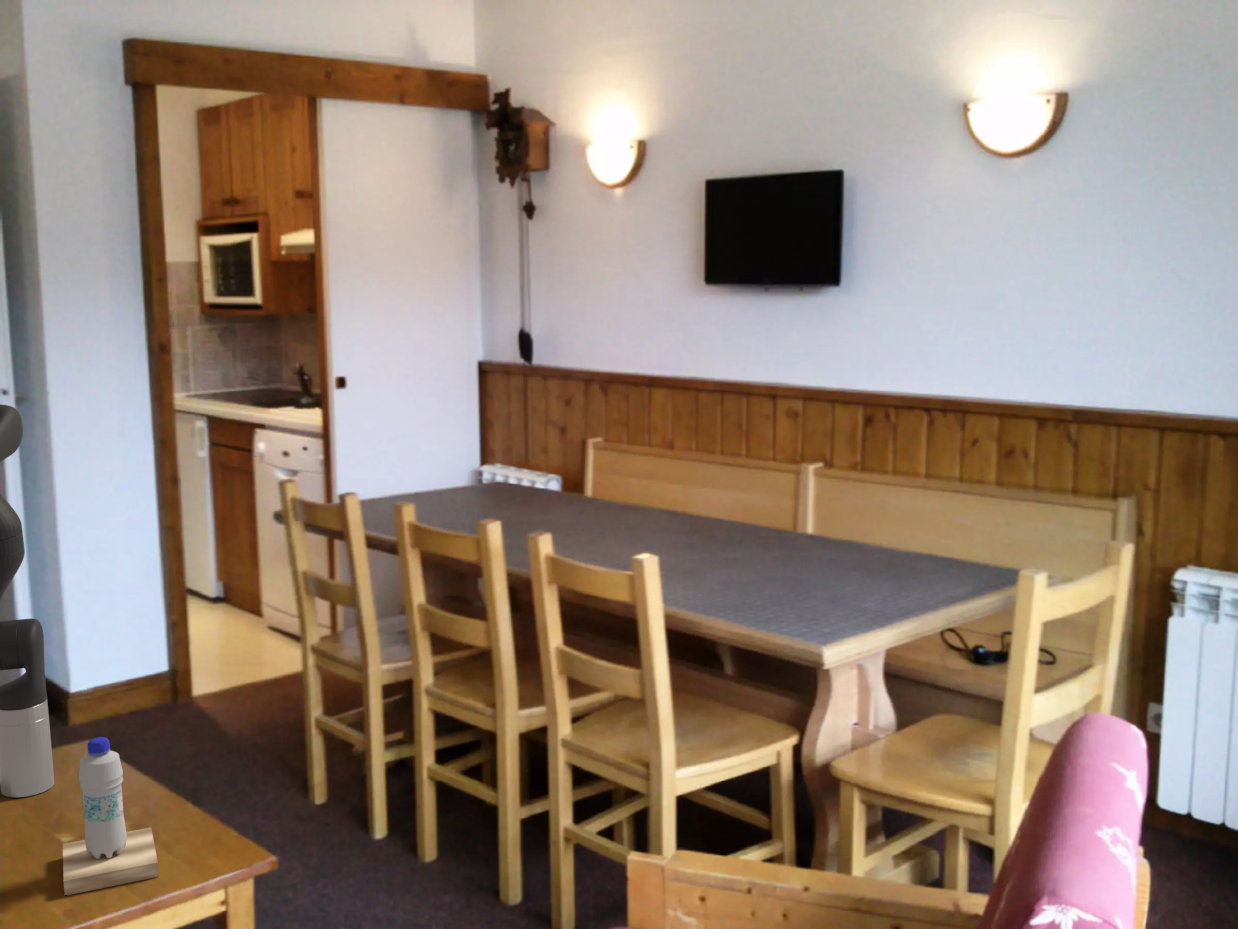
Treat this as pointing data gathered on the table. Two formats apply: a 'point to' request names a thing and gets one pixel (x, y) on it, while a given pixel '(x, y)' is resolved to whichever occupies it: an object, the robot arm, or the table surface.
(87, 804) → the bottle
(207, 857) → the table surface
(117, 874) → the birch stand
